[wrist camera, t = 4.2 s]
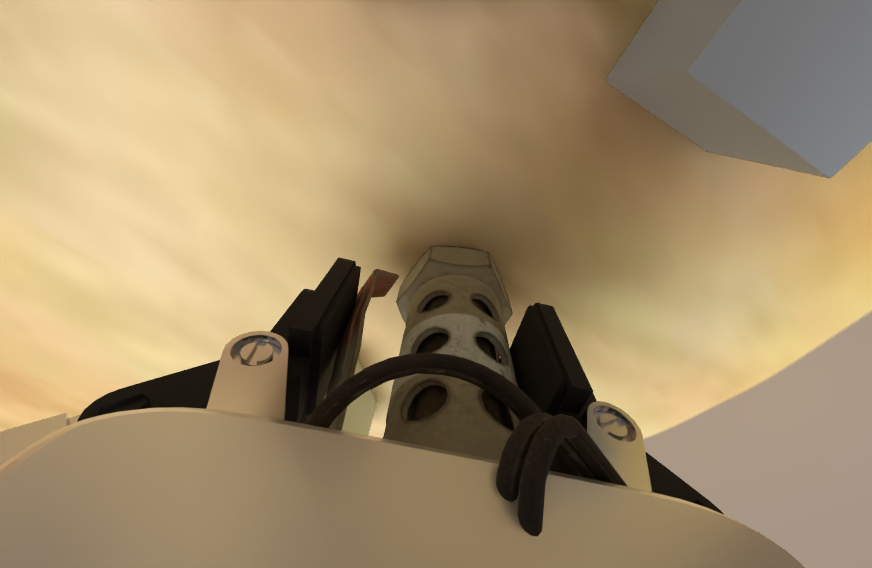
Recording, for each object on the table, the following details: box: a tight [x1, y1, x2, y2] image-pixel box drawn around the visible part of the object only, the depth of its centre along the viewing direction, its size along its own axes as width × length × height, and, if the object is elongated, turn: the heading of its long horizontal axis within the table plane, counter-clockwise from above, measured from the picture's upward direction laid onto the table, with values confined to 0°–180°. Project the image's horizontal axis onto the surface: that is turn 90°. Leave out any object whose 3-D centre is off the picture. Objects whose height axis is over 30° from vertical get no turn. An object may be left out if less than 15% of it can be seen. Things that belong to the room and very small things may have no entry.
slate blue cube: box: [605, 0, 872, 178], centre depth 9 cm, size 5×5×5 cm
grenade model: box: [304, 246, 628, 536], centre depth 9 cm, size 6×7×15 cm
